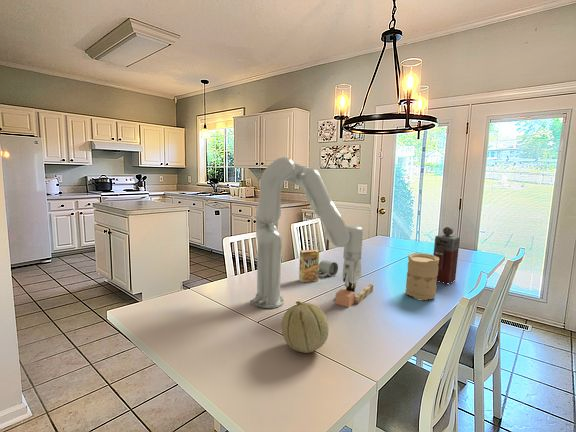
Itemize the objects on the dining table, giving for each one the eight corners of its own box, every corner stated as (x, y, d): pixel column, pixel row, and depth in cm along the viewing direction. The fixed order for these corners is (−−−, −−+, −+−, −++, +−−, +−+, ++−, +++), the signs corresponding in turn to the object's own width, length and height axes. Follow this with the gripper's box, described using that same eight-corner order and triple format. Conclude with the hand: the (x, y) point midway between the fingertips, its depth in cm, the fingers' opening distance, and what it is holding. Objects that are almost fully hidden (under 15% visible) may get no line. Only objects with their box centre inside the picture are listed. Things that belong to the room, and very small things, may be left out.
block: (348, 307, 133) (349, 296, 132) (335, 303, 136) (335, 293, 136) (354, 302, 138) (355, 292, 137) (341, 298, 141) (341, 289, 141)
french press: (429, 281, 166) (434, 227, 162) (437, 276, 174) (442, 224, 170) (447, 286, 160) (453, 229, 156) (455, 280, 168) (461, 227, 163)
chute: (358, 304, 136) (358, 297, 136) (336, 298, 142) (336, 291, 141) (372, 291, 151) (373, 284, 151) (352, 286, 157) (353, 280, 156)
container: (428, 303, 139) (432, 262, 136) (400, 295, 147) (403, 256, 144) (439, 295, 148) (443, 257, 145) (412, 288, 156) (415, 251, 153)
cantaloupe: (323, 366, 93) (325, 317, 91) (274, 357, 97) (275, 310, 95) (331, 340, 108) (333, 297, 105) (288, 333, 111) (289, 291, 109)
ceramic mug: (326, 270, 179) (326, 257, 177) (338, 274, 173) (338, 260, 171) (313, 275, 172) (313, 261, 170) (324, 279, 166) (325, 264, 164)
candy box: (301, 282, 160) (302, 252, 158) (298, 279, 164) (299, 250, 162) (318, 281, 163) (319, 251, 160) (315, 278, 167) (316, 249, 164)
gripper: (353, 260, 130) (351, 304, 133) (367, 252, 143) (364, 292, 146) (336, 257, 135) (334, 299, 137) (351, 250, 147) (349, 288, 150)
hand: (350, 296), depth 141 cm, fingers closed
